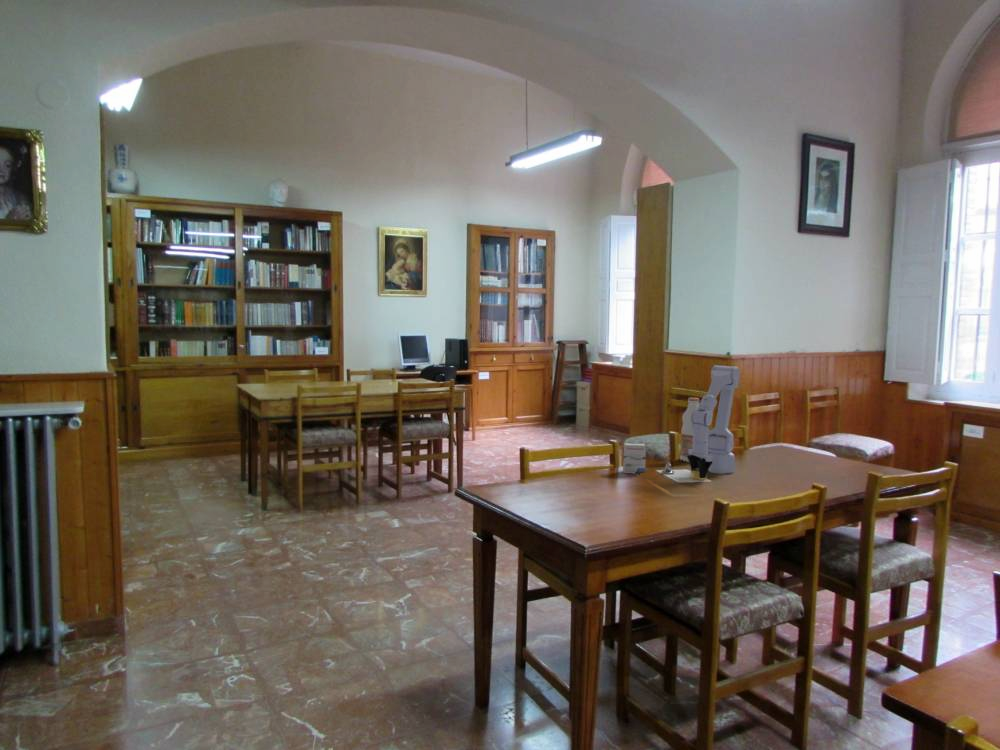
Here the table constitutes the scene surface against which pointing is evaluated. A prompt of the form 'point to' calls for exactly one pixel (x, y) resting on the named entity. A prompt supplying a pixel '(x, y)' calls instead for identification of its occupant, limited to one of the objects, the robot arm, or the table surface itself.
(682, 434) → the fruit juice
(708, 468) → the robot arm
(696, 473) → the ring
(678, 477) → the board
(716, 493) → the table surface
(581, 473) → the table surface
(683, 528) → the table surface
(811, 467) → the table surface
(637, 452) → the ink box
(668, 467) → the hub
